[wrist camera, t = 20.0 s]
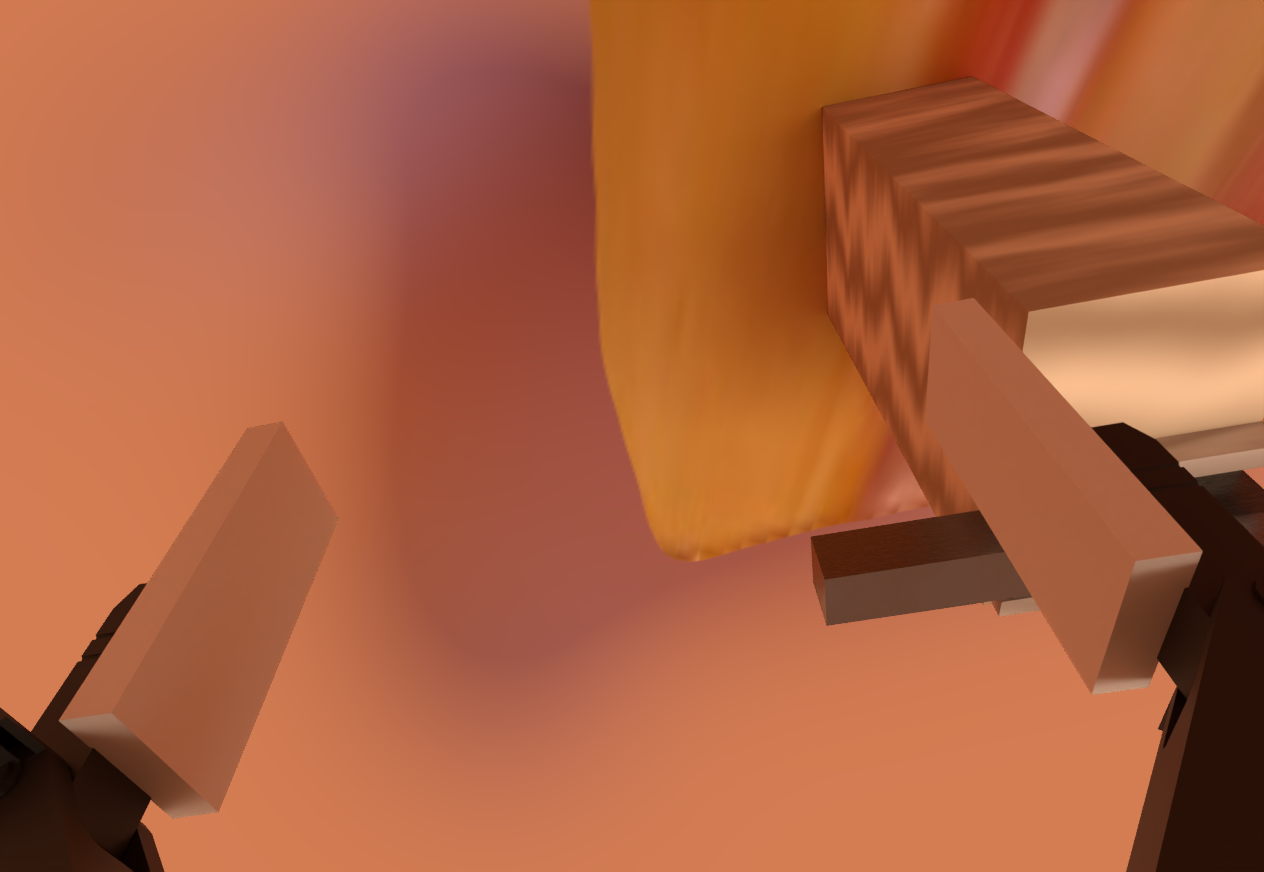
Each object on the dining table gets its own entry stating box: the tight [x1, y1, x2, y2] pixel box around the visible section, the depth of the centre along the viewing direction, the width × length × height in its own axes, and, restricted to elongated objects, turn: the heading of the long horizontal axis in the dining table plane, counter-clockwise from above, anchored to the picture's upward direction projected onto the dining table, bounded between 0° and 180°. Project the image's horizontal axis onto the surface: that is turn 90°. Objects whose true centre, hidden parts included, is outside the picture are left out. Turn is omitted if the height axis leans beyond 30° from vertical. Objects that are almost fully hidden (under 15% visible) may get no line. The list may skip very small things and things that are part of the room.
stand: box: [822, 77, 1264, 616], centre depth 42 cm, size 16×10×32 cm, turn 11°
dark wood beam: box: [811, 470, 1264, 625], centre depth 31 cm, size 3×18×4 cm, turn 101°
